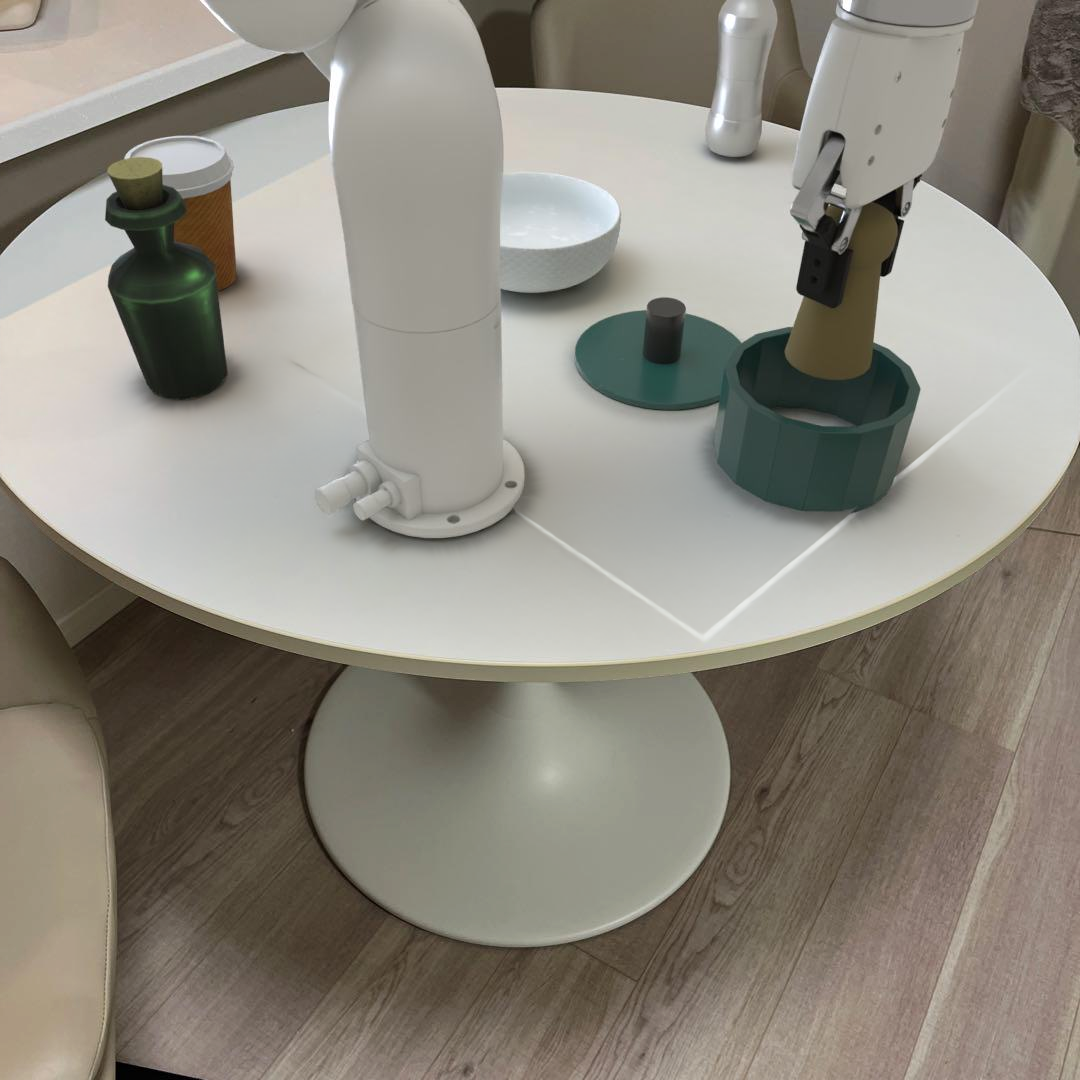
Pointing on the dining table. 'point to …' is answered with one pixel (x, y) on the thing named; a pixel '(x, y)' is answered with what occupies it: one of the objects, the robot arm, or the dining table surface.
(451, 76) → the robot arm
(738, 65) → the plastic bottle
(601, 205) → the cereal bowl
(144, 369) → the potion bottle
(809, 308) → the olive brown pawn
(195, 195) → the disposable coffee cup
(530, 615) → the dining table surface
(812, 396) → the pot
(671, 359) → the lid
